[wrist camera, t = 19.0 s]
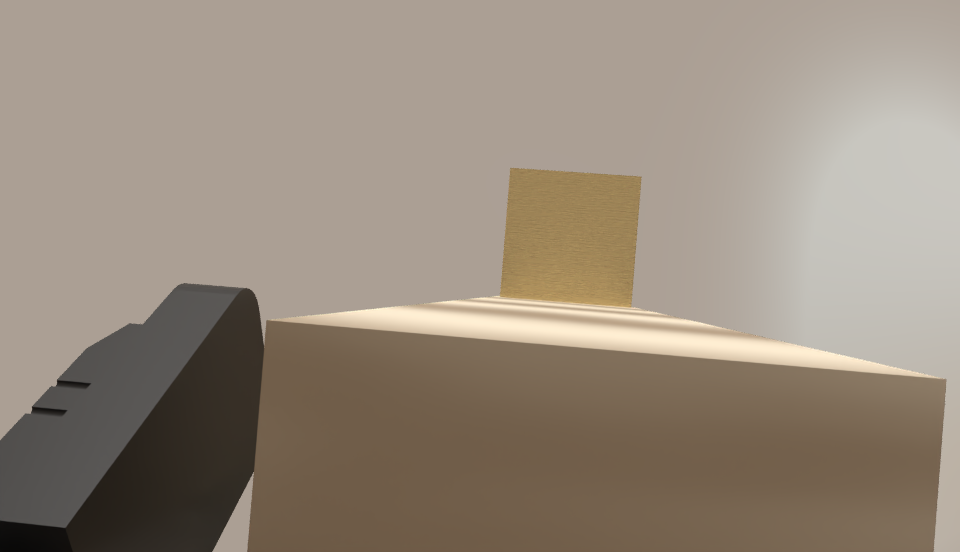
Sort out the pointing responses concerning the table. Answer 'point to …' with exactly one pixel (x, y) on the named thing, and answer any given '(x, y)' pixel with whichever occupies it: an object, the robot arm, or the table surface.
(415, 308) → the wooden plank
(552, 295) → the cube
